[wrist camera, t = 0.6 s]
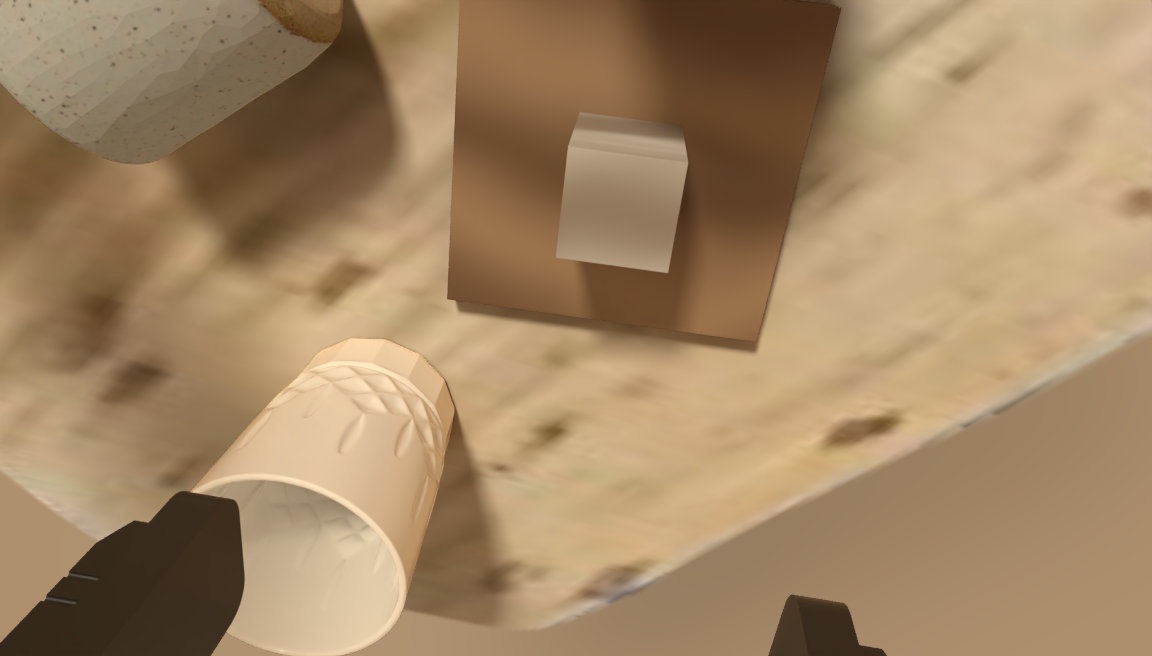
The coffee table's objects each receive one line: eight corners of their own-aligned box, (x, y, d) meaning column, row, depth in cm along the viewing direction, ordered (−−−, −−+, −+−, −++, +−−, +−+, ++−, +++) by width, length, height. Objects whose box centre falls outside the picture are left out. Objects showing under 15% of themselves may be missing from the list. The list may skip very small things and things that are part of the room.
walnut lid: (471, -44, 26) (426, -33, 21) (831, 3, 26) (878, 26, 21) (455, 283, 32) (417, 356, 27) (752, 323, 32) (772, 406, 26)
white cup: (490, 464, 35) (437, 647, 26) (328, 487, 37) (226, 669, 28) (436, 308, 32) (355, 458, 23) (259, 340, 33) (119, 493, 24)
